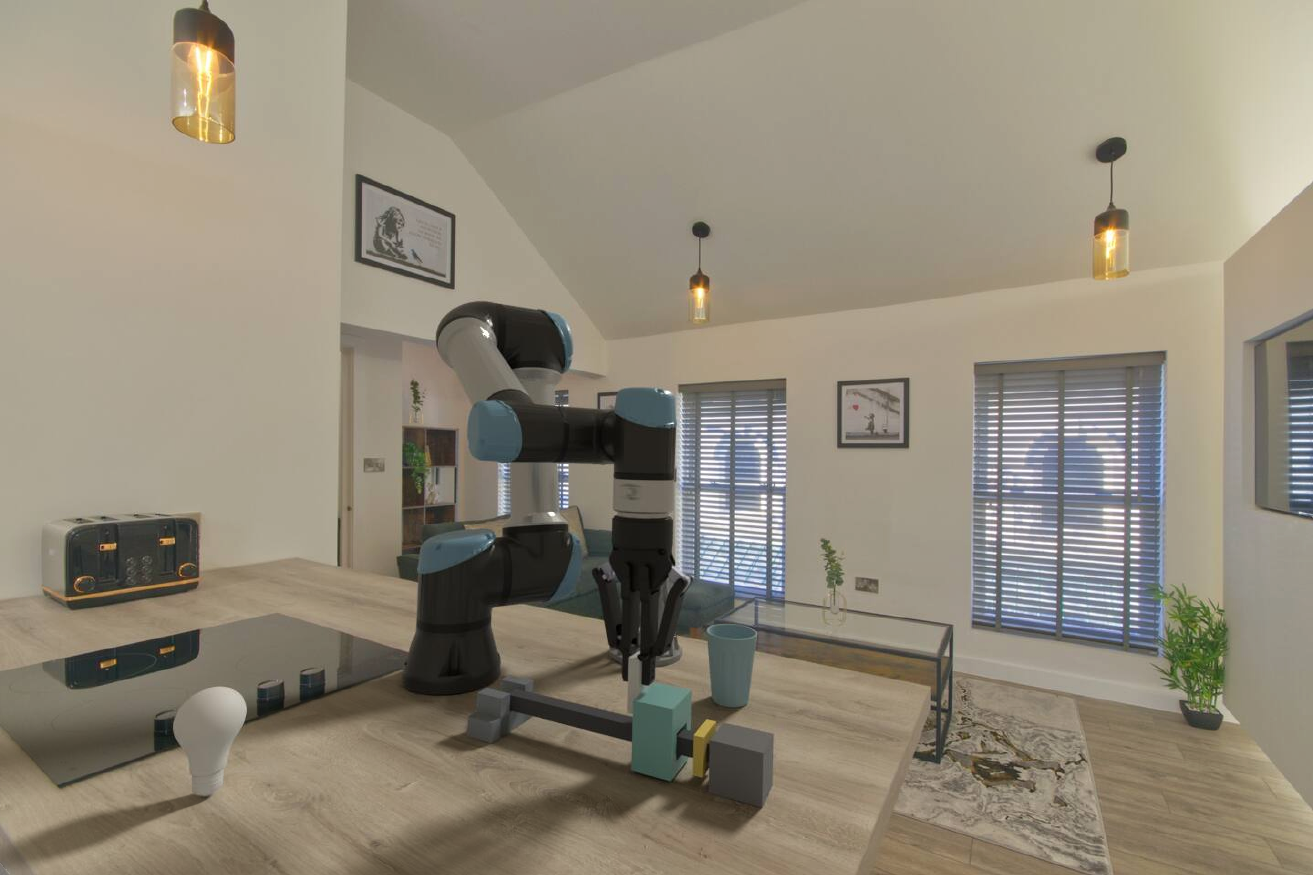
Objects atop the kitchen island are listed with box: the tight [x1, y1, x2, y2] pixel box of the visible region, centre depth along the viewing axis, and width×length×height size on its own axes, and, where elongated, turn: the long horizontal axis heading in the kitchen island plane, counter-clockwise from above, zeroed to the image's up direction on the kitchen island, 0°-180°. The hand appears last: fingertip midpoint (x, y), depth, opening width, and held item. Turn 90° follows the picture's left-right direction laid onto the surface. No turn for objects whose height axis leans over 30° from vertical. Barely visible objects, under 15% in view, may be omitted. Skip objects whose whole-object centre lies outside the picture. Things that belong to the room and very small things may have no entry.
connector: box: [708, 721, 775, 809], centre depth 64 cm, size 6×5×6 cm
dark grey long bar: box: [510, 689, 717, 778], centre depth 70 cm, size 34×4×4 cm, turn 66°
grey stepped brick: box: [466, 674, 534, 744], centre depth 78 cm, size 4×10×5 cm, turn 155°
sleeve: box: [630, 682, 693, 782], centre depth 68 cm, size 5×6×8 cm
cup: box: [706, 623, 758, 708], centre depth 87 cm, size 8×8×10 cm
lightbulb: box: [172, 686, 248, 798], centre depth 60 cm, size 6×6×11 cm
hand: (637, 709), depth 69 cm, fingers closed
